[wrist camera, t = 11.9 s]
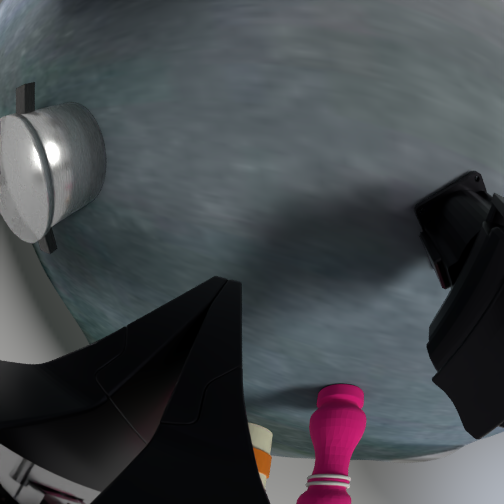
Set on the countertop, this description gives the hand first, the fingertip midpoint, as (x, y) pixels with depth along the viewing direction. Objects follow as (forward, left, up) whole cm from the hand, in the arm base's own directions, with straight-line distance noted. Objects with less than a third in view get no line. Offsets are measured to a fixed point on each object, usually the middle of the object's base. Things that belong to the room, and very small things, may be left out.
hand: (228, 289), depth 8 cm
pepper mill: (+10, +27, -13) cm, 32 cm away
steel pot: (+16, -16, -13) cm, 27 cm away
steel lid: (+18, -18, -6) cm, 26 cm away
